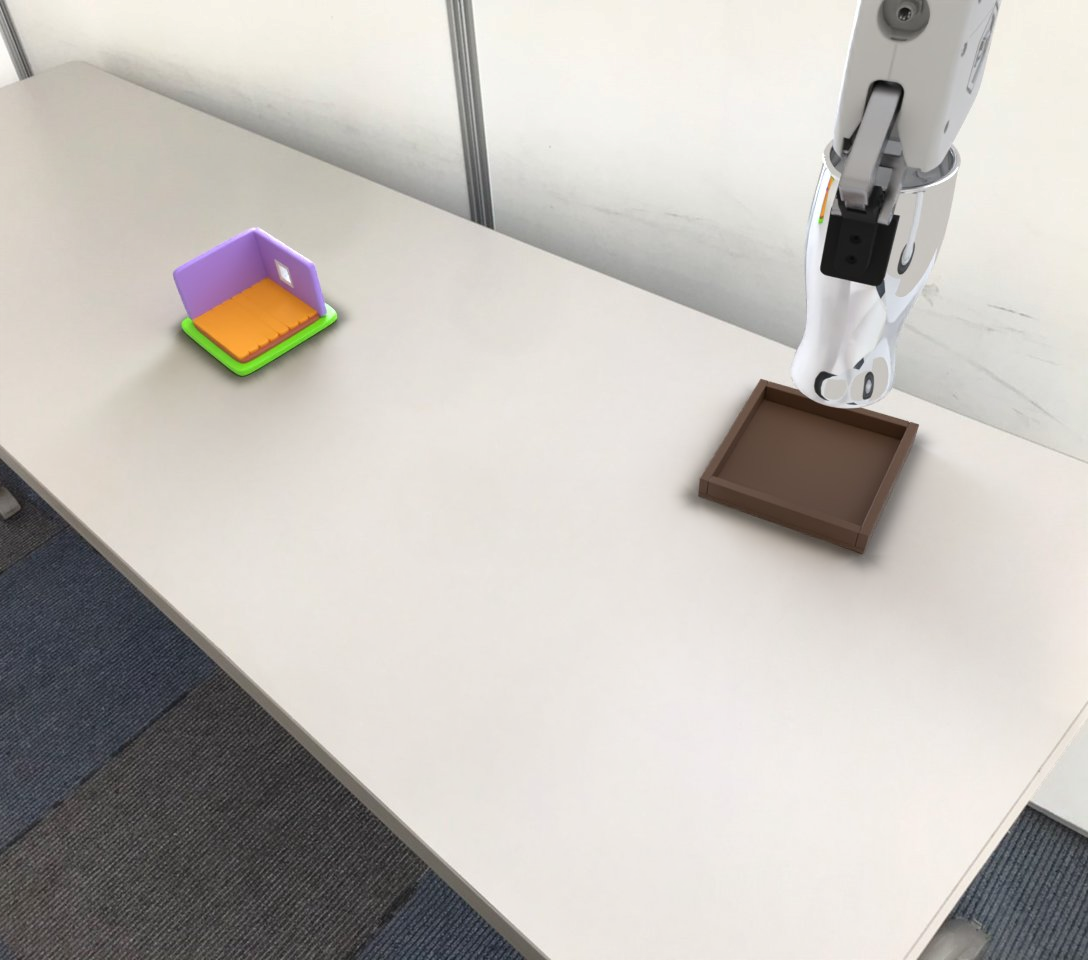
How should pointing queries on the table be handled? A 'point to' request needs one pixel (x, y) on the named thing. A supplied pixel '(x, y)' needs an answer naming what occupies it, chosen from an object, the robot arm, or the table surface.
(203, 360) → the table surface
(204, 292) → the dollhouse room
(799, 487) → the tray
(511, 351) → the table surface
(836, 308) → the beer glass
